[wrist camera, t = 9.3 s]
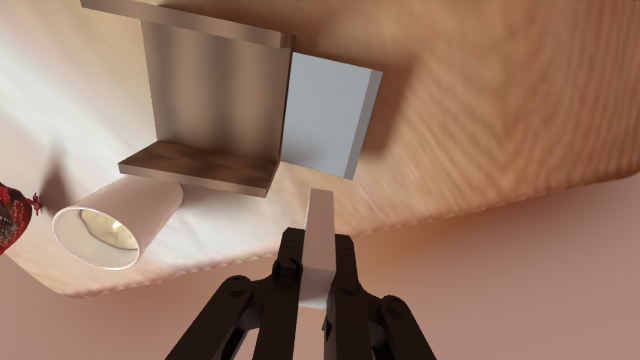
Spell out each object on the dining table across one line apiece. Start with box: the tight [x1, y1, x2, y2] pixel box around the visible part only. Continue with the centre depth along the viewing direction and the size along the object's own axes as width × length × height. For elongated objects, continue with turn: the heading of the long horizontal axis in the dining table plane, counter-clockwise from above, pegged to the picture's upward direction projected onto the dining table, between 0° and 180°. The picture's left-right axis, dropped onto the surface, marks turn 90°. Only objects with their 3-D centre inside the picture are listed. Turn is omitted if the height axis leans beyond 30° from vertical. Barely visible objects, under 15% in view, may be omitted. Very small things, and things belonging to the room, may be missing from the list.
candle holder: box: [52, 174, 183, 270], centre depth 35 cm, size 10×10×12 cm
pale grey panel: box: [280, 52, 383, 180], centre depth 30 cm, size 1×13×10 cm
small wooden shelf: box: [80, 0, 295, 198], centre depth 28 cm, size 16×16×10 cm
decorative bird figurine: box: [0, 182, 40, 255], centre depth 37 cm, size 3×18×10 cm, turn 155°
